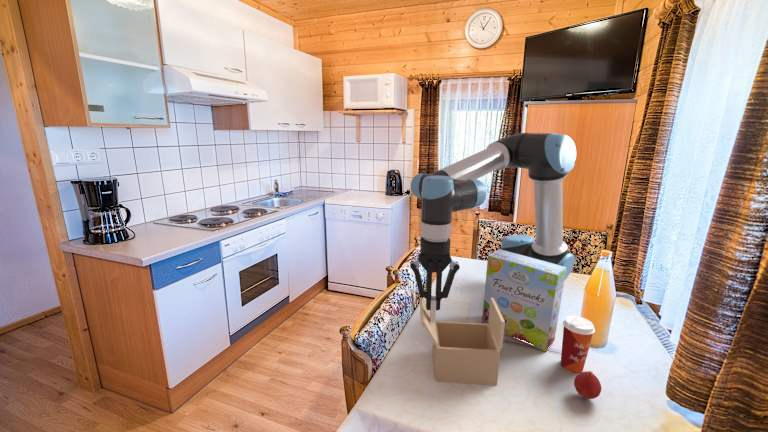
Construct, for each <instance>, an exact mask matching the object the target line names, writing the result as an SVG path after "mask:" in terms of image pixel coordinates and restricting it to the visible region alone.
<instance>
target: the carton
mask: <svg viewBox="0 0 768 432" xmlns="http://www.w3.org/2000/svg"><path fill="white" fill-rule="evenodd" d="M435 325H436V334H437V342H438V345H436V346H435V345H434V343H433V342H432V341H431V342H432V346H431V347H432V349H431V353H432V355H431V356H432V365H433V377H434V382H439V383H453V384H454V383H455V384H470V385H473V384H474V385H488V386H497V385H498V376H499V367H500V359H501V349H499V348H498V345H497V342H496V340H495V337H494V335H493V332H492V330H491V327H490V325H489V324H487V323H482V322H466V321H465V322H463V321H462V322H461V321H448V320H447V321H443V320H436V323H435Z"/></svg>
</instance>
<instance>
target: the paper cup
mask: <svg viewBox="0 0 768 432" xmlns="http://www.w3.org/2000/svg"><path fill="white" fill-rule="evenodd" d="M562 325H563V331H562V332H563V334H562V343H561V356H560V365H561V367H562V368H563V369H565V370H566V371H568V372H571V373H574V374H580V373H581V372H584V367H585V365H586V360H587V357H588V353H589V350H590V346H591V342H592V338H593V336H594V335H593V334H595V332H596V329H595V326H594V323H593V322H592V321H590V320H589V319H587V318H585V317H582V316H578V315H569V316H566V318H564V319H563V322H562Z"/></svg>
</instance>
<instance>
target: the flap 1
mask: <svg viewBox="0 0 768 432" xmlns="http://www.w3.org/2000/svg"><path fill="white" fill-rule="evenodd" d="M419 312H420V313H419V315H420V316H419V317H420V324H421V325H422V327H423V328H424V330H425V332H426V334H427V336H428V337H429V339H430V340H431V342H433V343H434V345H435V346H436V345H438V342H437V334H436V325H435V323H430V310H427V309H426V301H425V300H424V297H423V298H421V297H420V298H419Z"/></svg>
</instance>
